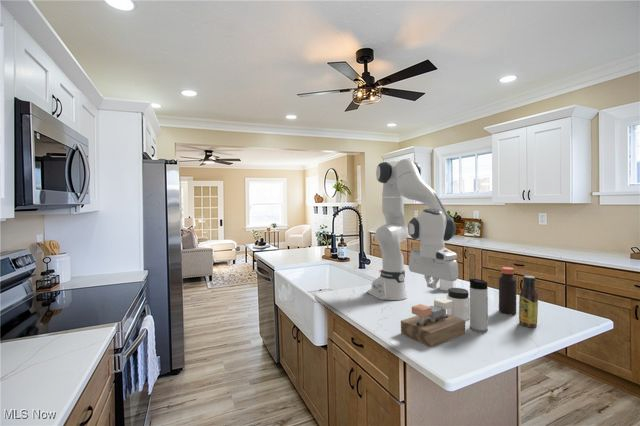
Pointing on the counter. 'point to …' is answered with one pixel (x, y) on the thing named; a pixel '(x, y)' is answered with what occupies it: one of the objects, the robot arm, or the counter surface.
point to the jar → (459, 303)
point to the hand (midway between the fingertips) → (431, 287)
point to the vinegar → (507, 291)
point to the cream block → (443, 305)
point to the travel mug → (478, 305)
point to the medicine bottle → (447, 284)
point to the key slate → (435, 313)
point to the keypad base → (433, 329)
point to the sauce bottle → (528, 303)
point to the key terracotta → (421, 312)
